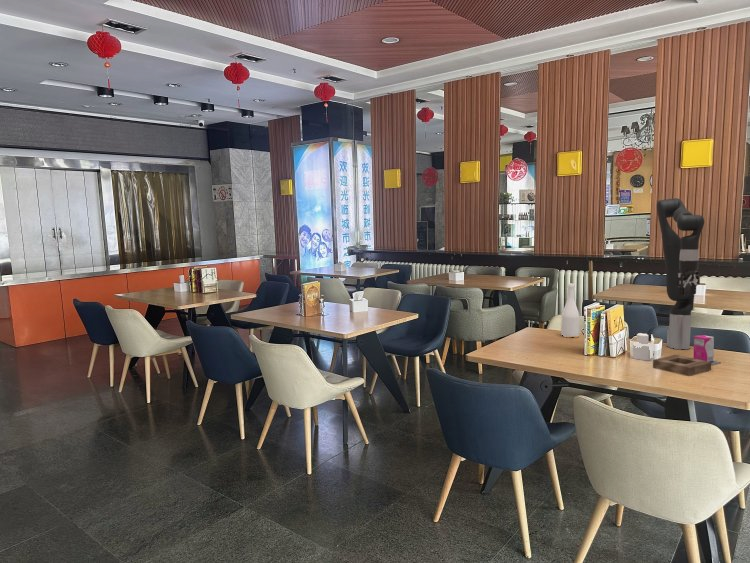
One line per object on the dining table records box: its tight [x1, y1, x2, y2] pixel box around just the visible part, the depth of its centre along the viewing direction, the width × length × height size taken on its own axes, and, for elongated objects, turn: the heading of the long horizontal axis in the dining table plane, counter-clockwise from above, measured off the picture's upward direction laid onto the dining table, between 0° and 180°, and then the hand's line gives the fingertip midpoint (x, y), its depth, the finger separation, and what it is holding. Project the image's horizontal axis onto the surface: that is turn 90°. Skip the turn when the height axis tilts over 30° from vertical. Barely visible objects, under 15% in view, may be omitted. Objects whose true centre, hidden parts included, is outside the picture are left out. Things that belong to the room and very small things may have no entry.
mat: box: [711, 360, 722, 366], centre depth 241 cm, size 10×10×1 cm
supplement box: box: [692, 334, 715, 362], centre depth 241 cm, size 6×6×12 cm
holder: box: [652, 354, 712, 377], centre depth 231 cm, size 16×16×4 cm
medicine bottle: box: [632, 332, 652, 362], centre depth 250 cm, size 7×7×12 cm
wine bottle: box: [560, 282, 581, 337], centre depth 299 cm, size 10×10×30 cm
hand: (687, 295), depth 243 cm, fingers open, 8 cm apart
